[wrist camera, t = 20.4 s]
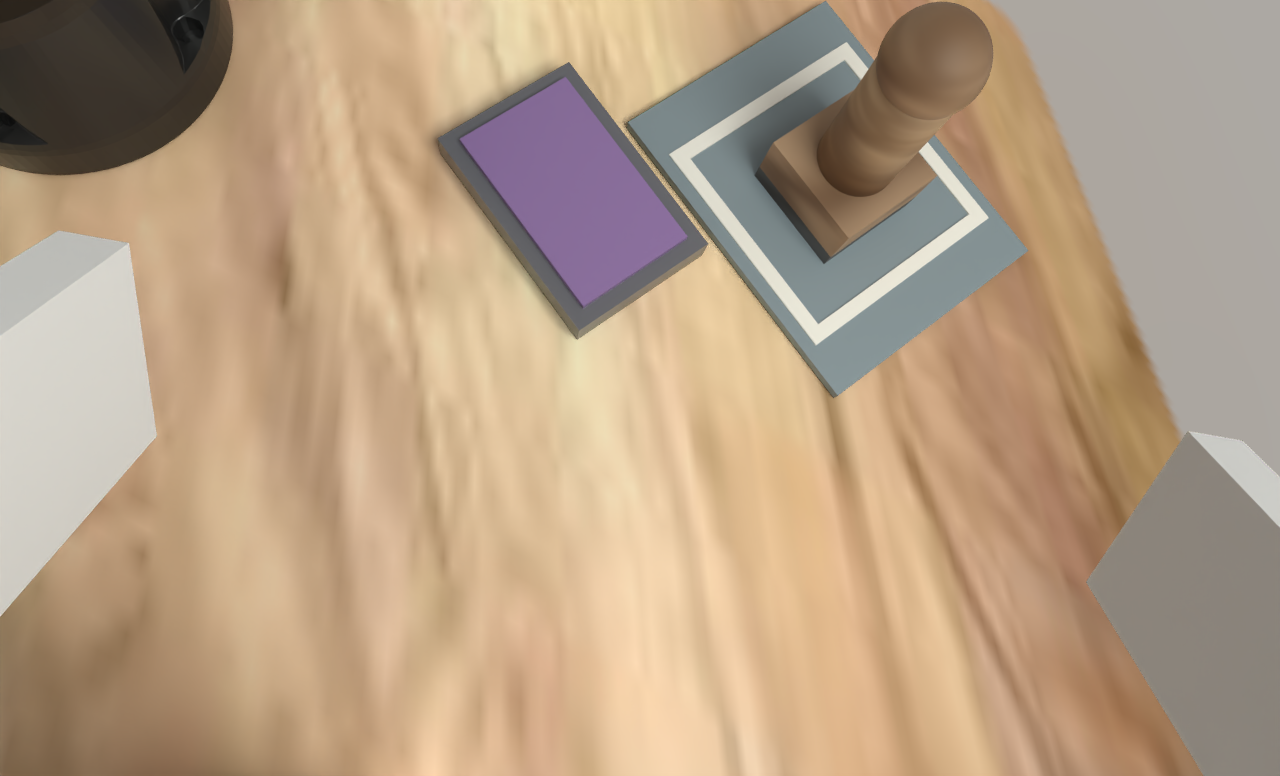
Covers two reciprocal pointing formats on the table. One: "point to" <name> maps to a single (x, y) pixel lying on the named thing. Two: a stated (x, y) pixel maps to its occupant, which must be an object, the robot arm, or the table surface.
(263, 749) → the table surface
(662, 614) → the table surface
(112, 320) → the robot arm
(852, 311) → the form board
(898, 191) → the stamp
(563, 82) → the ink pad
